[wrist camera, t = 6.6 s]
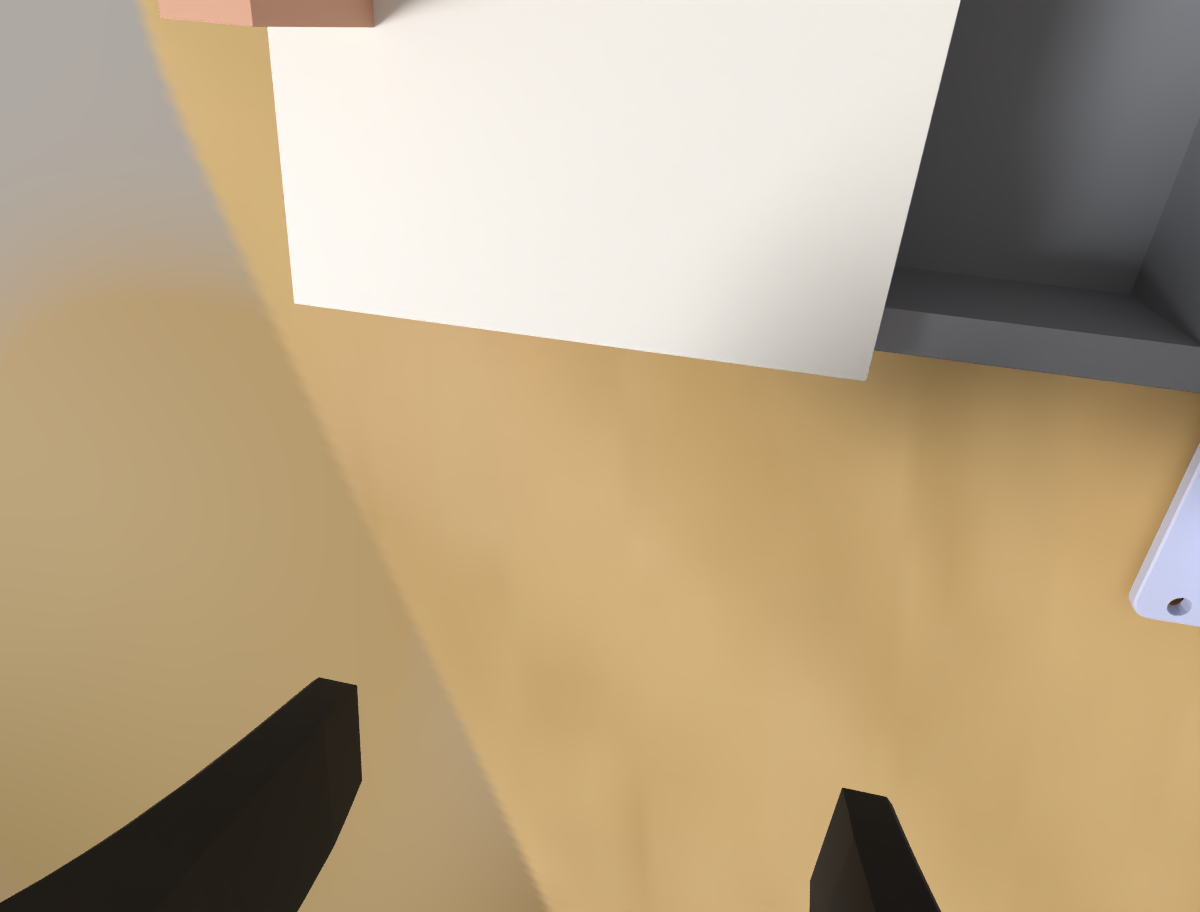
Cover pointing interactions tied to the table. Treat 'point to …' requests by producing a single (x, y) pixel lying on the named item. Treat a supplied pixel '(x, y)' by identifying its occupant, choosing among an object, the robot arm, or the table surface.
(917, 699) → the table surface
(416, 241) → the carton lid
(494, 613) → the table surface
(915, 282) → the carton
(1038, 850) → the table surface
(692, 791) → the table surface
